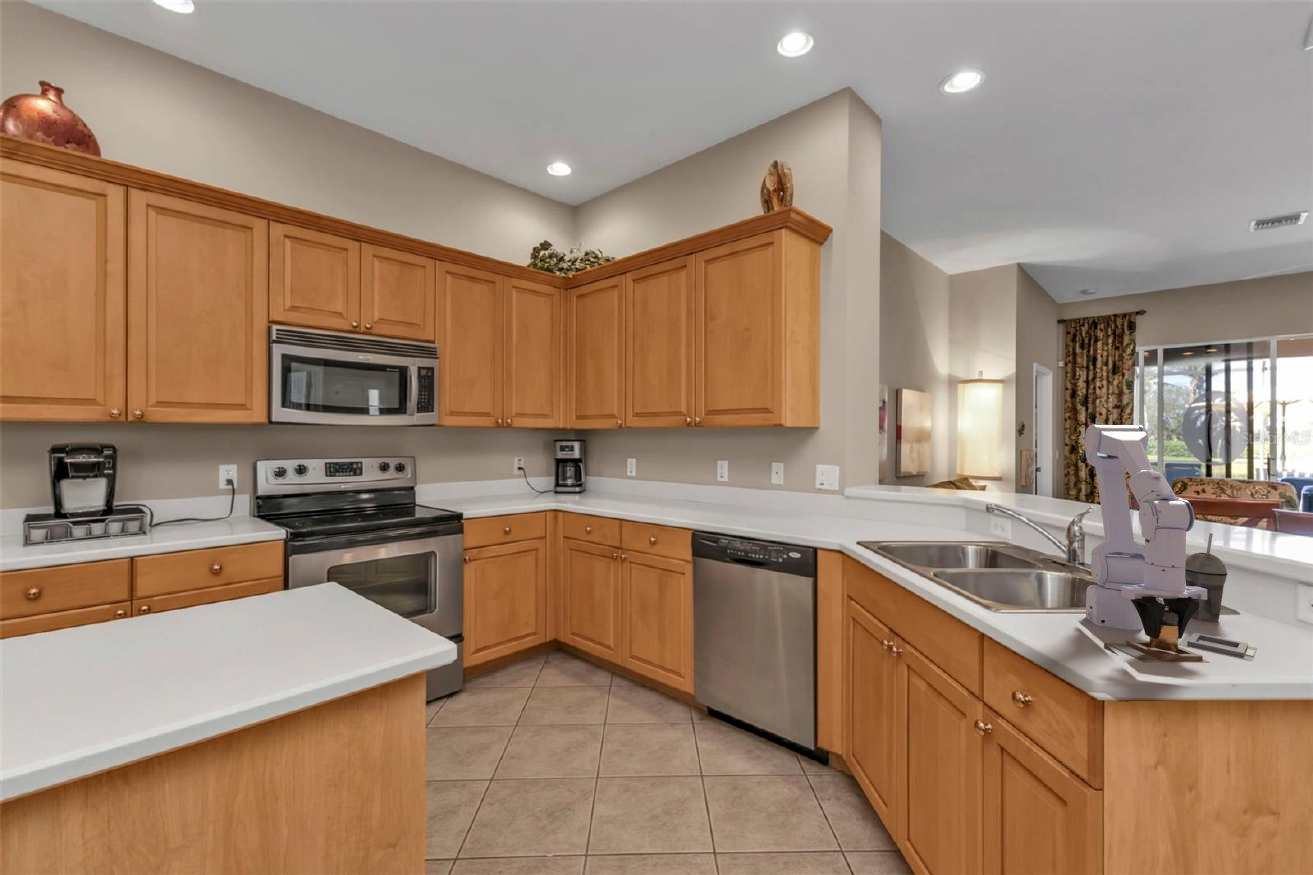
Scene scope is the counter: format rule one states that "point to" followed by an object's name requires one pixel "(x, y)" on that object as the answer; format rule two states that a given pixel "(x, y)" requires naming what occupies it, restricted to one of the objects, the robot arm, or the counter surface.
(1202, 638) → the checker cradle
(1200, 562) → the beverage cup
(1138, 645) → the trough board
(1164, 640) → the cell
